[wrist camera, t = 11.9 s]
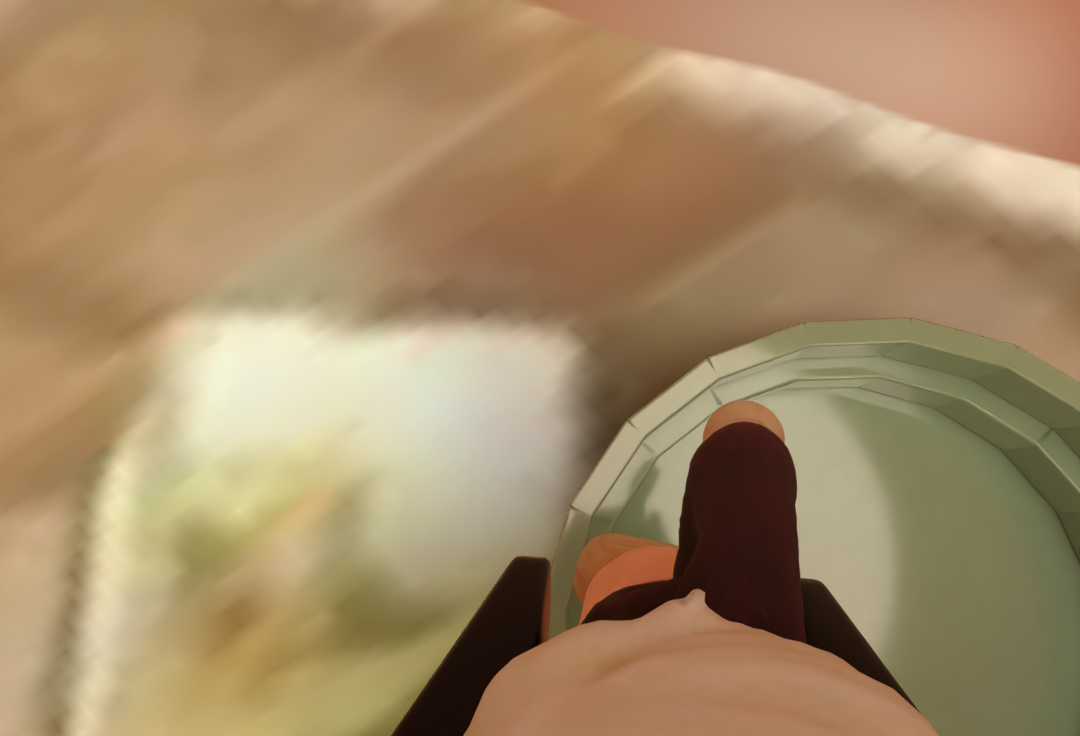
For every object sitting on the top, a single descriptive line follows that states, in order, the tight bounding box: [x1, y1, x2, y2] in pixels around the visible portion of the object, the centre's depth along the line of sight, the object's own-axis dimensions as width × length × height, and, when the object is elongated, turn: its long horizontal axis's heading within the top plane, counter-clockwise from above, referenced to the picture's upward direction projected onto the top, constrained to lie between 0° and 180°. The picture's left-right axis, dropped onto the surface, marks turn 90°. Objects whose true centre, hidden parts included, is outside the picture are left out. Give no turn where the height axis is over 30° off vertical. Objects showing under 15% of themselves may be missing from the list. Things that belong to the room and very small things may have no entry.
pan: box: [548, 318, 1080, 736], centre depth 19 cm, size 15×15×4 cm
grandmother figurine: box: [463, 400, 939, 736], centre depth 9 cm, size 8×4×13 cm, turn 166°
